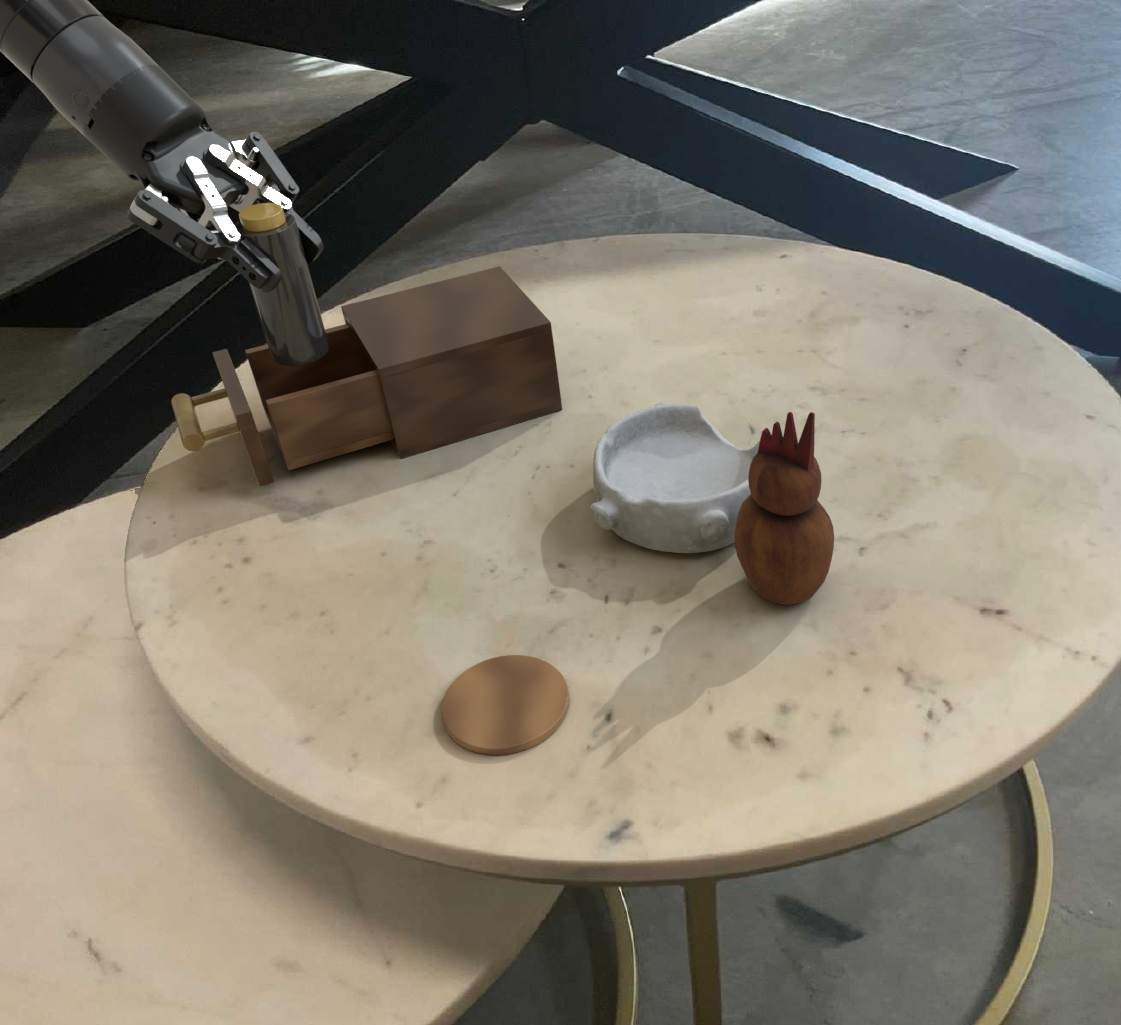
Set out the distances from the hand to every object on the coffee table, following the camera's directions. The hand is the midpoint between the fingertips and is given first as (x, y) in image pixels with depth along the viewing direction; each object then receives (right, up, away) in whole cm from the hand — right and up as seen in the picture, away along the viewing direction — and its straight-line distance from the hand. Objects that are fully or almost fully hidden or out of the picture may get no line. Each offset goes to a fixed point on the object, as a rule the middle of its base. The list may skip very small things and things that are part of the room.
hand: (296, 269), depth 87 cm
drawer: (-3, -12, +9) cm, 16 cm away
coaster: (+18, -31, -15) cm, 39 cm away
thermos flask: (-1, -6, +5) cm, 8 cm away
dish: (+30, -18, +1) cm, 35 cm away
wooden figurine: (+37, -24, -7) cm, 44 cm away
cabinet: (+10, -9, +14) cm, 19 cm away
